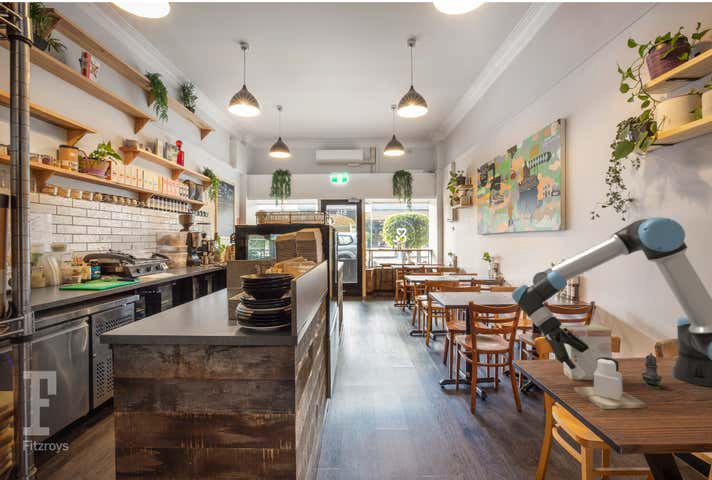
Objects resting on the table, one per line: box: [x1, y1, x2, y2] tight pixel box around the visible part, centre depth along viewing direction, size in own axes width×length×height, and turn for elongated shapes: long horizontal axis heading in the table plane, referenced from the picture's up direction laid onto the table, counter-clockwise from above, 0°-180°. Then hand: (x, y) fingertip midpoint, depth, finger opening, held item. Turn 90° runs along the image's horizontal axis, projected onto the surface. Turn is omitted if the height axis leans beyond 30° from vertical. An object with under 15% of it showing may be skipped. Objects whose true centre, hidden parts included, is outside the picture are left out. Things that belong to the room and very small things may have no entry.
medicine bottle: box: [592, 357, 623, 401], centre depth 121 cm, size 7×7×12 cm
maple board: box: [573, 386, 647, 410], centre depth 121 cm, size 14×14×1 cm
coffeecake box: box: [562, 324, 613, 381], centre depth 140 cm, size 15×7×20 cm, turn 84°
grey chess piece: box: [641, 352, 663, 390], centre depth 130 cm, size 6×6×12 cm
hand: (590, 372), depth 124 cm, fingers open, 13 cm apart
